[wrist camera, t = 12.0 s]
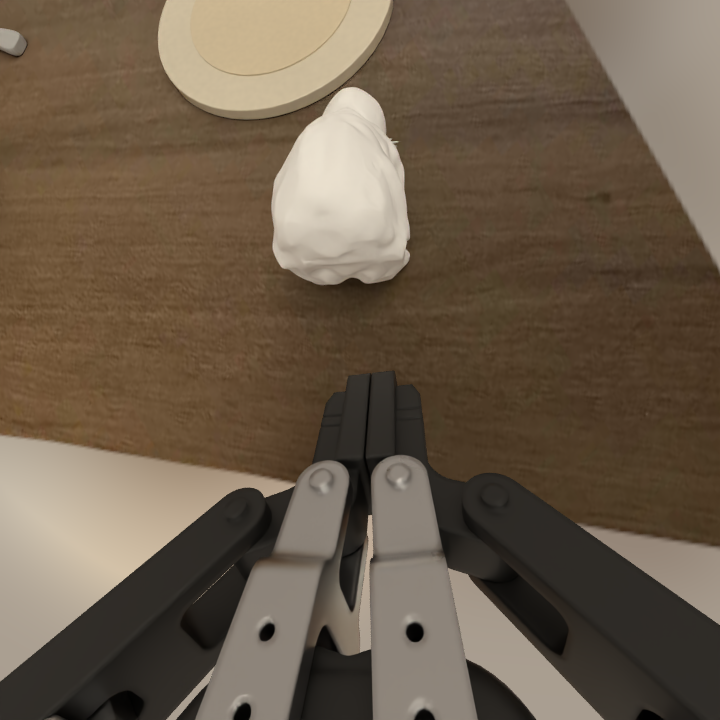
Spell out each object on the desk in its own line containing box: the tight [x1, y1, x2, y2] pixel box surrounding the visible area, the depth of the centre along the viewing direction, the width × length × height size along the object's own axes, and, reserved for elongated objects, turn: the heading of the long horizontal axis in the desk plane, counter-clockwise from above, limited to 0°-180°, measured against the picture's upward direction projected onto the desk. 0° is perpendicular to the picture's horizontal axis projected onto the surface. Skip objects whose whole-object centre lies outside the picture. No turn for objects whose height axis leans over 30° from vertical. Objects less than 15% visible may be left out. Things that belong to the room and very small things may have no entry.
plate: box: [158, 0, 394, 120], centre depth 27 cm, size 18×18×1 cm
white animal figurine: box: [271, 87, 410, 285], centre depth 19 cm, size 6×8×12 cm
